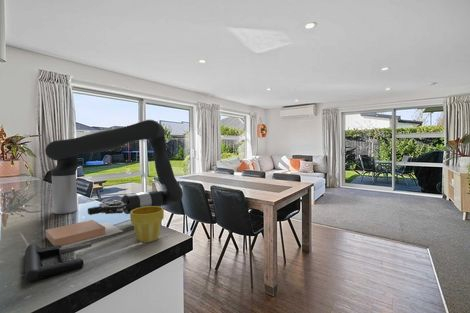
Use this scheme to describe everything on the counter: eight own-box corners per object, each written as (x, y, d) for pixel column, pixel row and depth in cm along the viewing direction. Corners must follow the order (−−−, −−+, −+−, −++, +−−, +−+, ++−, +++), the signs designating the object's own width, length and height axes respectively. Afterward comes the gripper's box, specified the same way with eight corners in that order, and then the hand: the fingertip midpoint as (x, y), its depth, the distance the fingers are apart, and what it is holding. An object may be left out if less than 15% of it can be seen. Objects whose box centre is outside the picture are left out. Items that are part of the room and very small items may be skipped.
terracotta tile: (92, 226, 89) (45, 237, 78) (92, 219, 89) (45, 229, 78) (105, 234, 81) (55, 247, 70) (105, 227, 81) (54, 239, 70)
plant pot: (127, 237, 80) (126, 208, 79) (157, 230, 86) (157, 204, 86) (135, 248, 72) (135, 216, 71) (168, 239, 78) (168, 210, 77)
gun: (86, 234, 77) (20, 245, 67) (101, 256, 62) (18, 274, 52) (86, 244, 77) (20, 256, 67) (100, 268, 62) (17, 289, 52)
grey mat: (50, 236, 80) (50, 235, 80) (106, 223, 94) (106, 222, 94) (62, 249, 71) (62, 247, 71) (123, 232, 84) (123, 231, 84)
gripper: (129, 191, 99) (81, 198, 86) (144, 195, 91) (95, 204, 78) (129, 208, 100) (82, 218, 87) (145, 214, 91) (95, 226, 78)
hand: (88, 211), depth 82 cm, fingers closed
